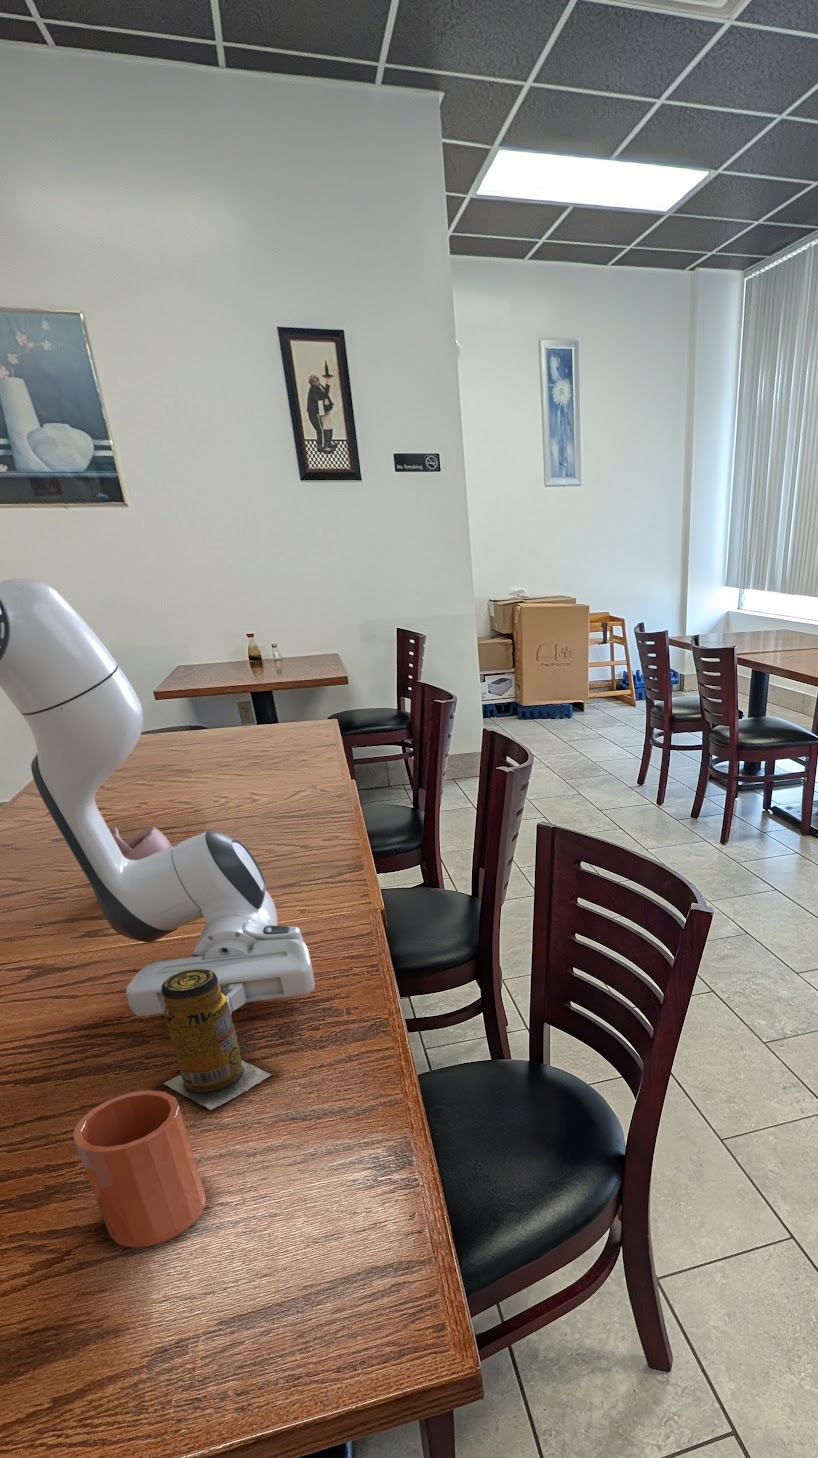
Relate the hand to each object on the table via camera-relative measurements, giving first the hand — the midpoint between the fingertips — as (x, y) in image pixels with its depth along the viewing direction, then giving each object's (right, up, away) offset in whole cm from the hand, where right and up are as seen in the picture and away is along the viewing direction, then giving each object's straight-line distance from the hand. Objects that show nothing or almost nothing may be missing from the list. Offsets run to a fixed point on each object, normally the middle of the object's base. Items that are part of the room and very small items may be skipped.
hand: (214, 1014), depth 89 cm
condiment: (+1, -7, -2) cm, 7 cm away
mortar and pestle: (-32, +16, +47) cm, 59 cm away
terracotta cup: (+3, -15, -19) cm, 25 cm away
